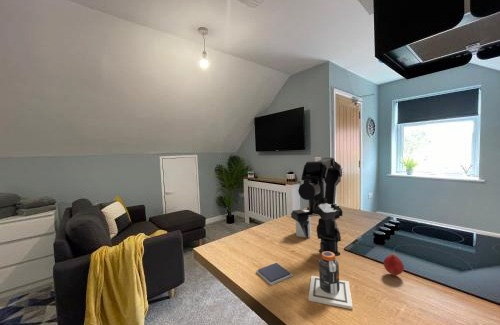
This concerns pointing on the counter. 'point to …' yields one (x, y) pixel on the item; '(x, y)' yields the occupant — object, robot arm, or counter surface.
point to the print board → (331, 299)
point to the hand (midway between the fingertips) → (317, 235)
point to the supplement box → (299, 230)
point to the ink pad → (274, 273)
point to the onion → (393, 265)
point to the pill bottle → (329, 273)
